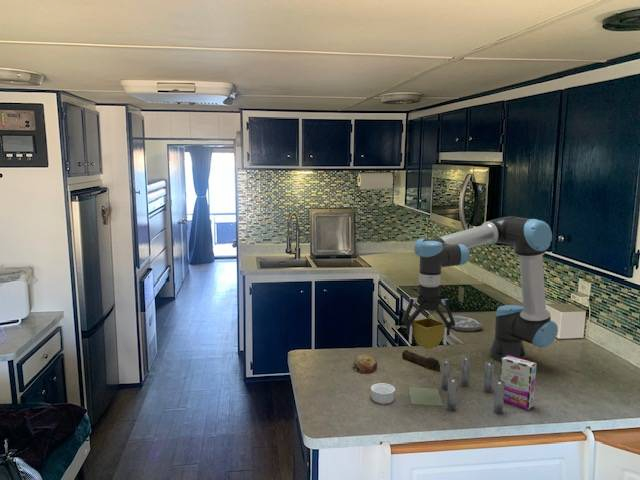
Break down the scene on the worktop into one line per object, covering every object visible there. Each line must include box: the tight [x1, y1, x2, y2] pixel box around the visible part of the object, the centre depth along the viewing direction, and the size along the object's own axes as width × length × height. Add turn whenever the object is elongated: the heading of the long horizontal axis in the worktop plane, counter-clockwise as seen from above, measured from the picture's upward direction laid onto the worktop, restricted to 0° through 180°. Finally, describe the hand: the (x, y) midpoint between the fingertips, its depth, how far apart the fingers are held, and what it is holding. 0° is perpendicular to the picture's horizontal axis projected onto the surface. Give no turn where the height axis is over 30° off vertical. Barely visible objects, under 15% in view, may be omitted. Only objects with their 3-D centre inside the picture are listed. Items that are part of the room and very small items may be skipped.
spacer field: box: [440, 356, 505, 415], centre depth 188 cm, size 19×23×11 cm
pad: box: [408, 386, 443, 407], centre depth 189 cm, size 11×13×1 cm
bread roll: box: [352, 353, 378, 374], centre depth 213 cm, size 10×10×8 cm
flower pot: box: [411, 317, 446, 350], centre depth 185 cm, size 9×9×9 cm
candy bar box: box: [499, 355, 538, 411], centre depth 183 cm, size 11×5×16 cm, turn 45°
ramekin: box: [370, 382, 396, 405], centre depth 187 cm, size 9×9×4 cm
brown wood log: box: [401, 349, 441, 372], centre depth 218 cm, size 19×4×5 cm, turn 38°
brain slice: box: [446, 315, 484, 333], centre depth 265 cm, size 20×17×3 cm
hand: (427, 342), depth 185 cm, fingers closed on flower pot, 11 cm apart
